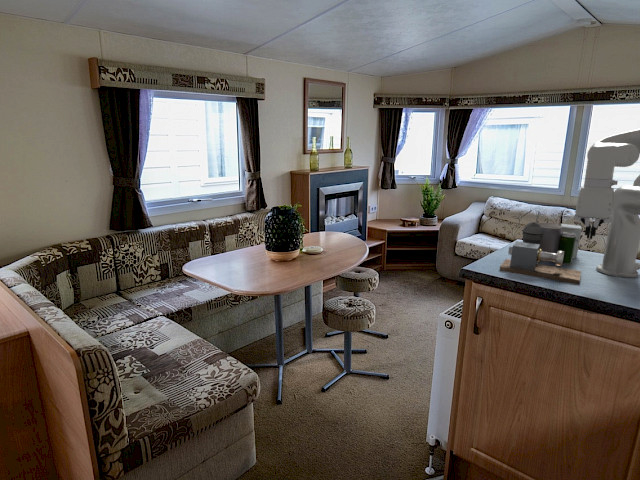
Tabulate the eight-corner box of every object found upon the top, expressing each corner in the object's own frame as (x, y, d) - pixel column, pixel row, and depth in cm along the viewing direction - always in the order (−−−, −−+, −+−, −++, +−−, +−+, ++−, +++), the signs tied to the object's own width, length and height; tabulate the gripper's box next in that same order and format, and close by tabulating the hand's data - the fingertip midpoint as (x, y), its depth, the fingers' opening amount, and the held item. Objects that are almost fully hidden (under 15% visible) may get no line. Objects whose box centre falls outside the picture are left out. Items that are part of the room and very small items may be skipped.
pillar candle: (529, 253, 174) (534, 218, 171) (556, 256, 170) (562, 221, 166) (530, 259, 166) (535, 223, 162) (557, 263, 162) (563, 225, 158)
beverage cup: (521, 257, 169) (528, 209, 164) (540, 260, 164) (548, 211, 159) (516, 261, 163) (523, 211, 158) (536, 265, 159) (544, 213, 154)
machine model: (580, 275, 148) (585, 249, 145) (579, 284, 138) (584, 257, 136) (505, 262, 161) (508, 239, 159) (499, 270, 151) (502, 245, 149)
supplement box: (556, 255, 172) (561, 226, 169) (555, 251, 178) (560, 223, 175) (576, 258, 168) (582, 228, 165) (575, 254, 175) (580, 225, 172)
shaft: (562, 263, 147) (564, 249, 146) (561, 267, 143) (563, 253, 142) (509, 255, 156) (511, 242, 155) (506, 258, 152) (508, 245, 151)
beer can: (566, 265, 158) (572, 235, 155) (552, 262, 163) (557, 232, 160) (574, 263, 161) (579, 233, 158) (559, 260, 166) (564, 231, 163)
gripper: (625, 183, 134) (616, 237, 139) (571, 181, 142) (564, 232, 147) (626, 186, 128) (616, 243, 133) (570, 183, 136) (563, 237, 141)
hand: (589, 237), depth 140 cm, fingers closed
